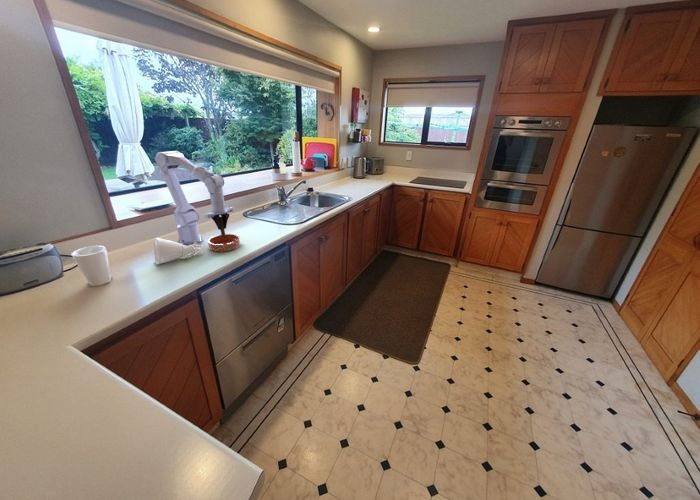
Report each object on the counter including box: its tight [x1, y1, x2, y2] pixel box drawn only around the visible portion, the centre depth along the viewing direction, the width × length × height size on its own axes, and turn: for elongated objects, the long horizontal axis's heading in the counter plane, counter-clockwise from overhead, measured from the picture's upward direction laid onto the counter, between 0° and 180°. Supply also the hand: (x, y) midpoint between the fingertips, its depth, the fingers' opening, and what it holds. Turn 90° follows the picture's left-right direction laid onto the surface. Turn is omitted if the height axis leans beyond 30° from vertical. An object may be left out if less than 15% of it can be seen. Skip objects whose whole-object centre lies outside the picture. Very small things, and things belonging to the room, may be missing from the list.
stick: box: [220, 215, 226, 236], centre depth 136 cm, size 2×2×10 cm
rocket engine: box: [153, 237, 203, 265], centre depth 126 cm, size 12×12×18 cm
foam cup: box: [70, 245, 112, 287], centre depth 104 cm, size 10×9×13 cm
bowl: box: [207, 233, 241, 253], centre depth 140 cm, size 14×14×4 cm
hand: (222, 228), depth 137 cm, fingers closed on stick, 2 cm apart
